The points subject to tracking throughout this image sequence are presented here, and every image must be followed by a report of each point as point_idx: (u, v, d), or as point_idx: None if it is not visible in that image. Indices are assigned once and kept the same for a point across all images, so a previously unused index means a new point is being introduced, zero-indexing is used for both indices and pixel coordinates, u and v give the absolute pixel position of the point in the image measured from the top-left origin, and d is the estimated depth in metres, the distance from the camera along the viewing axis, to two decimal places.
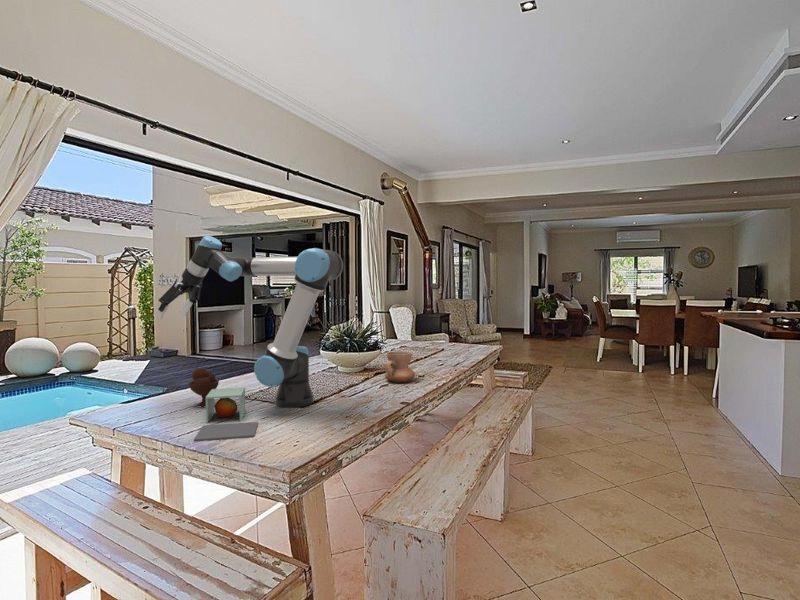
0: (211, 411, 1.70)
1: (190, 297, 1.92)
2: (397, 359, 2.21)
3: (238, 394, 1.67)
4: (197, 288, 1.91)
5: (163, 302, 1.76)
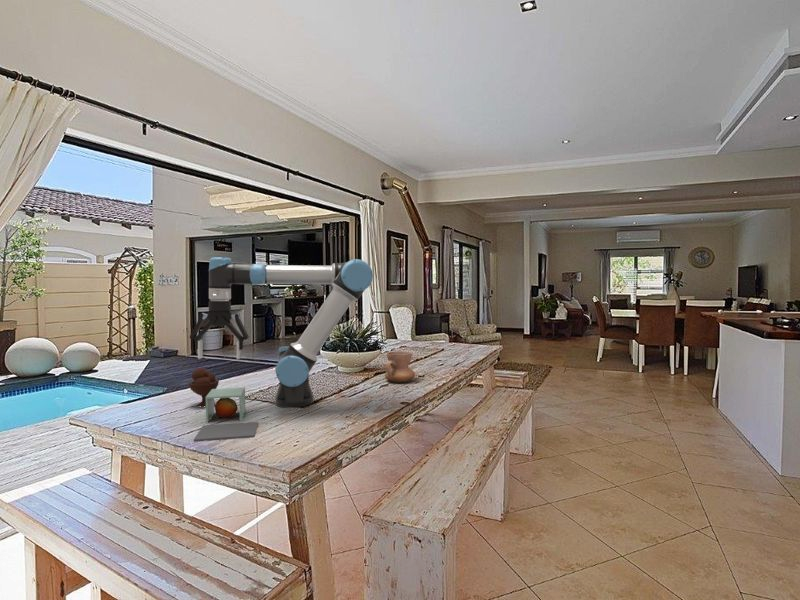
0: (211, 411, 1.70)
1: (202, 335, 1.69)
2: (397, 359, 2.21)
3: (238, 394, 1.67)
4: (202, 321, 1.70)
5: (248, 336, 1.71)
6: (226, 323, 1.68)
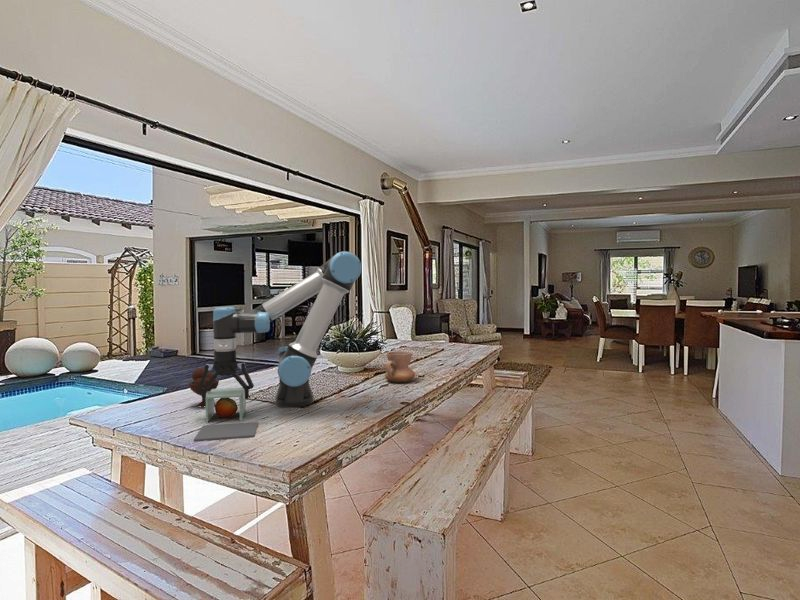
0: (211, 411, 1.70)
1: None
2: (397, 359, 2.21)
3: (238, 394, 1.67)
4: (208, 372, 1.69)
5: None
6: (232, 373, 1.69)
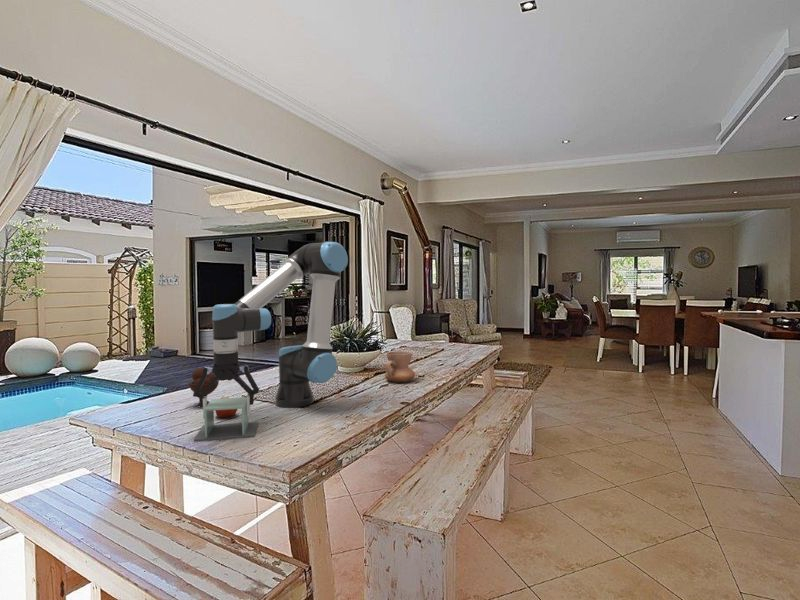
0: (210, 424, 1.53)
1: (207, 391, 1.52)
2: (397, 359, 2.21)
3: (240, 405, 1.50)
4: (206, 376, 1.52)
5: (258, 389, 1.56)
6: (234, 377, 1.52)
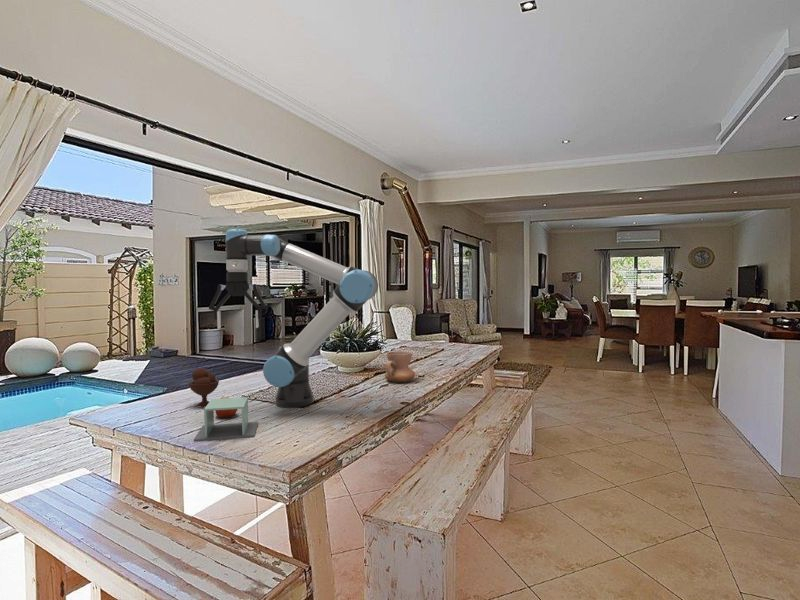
0: (210, 424, 1.53)
1: (221, 305, 1.74)
2: (397, 359, 2.21)
3: (240, 405, 1.50)
4: (220, 292, 1.74)
5: (265, 305, 1.78)
6: (245, 293, 1.74)
